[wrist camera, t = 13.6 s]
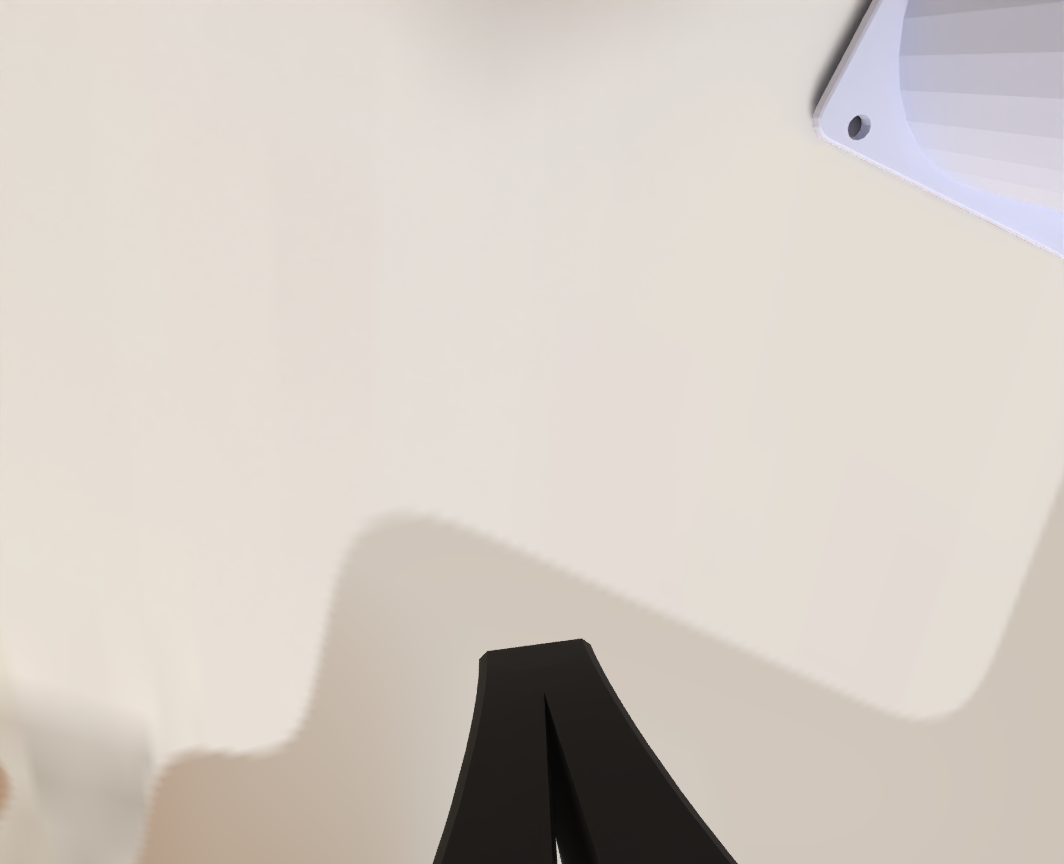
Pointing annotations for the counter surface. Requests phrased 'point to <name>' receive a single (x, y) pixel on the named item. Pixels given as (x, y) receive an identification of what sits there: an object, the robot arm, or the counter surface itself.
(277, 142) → the counter surface
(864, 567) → the counter surface
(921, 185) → the robot arm
